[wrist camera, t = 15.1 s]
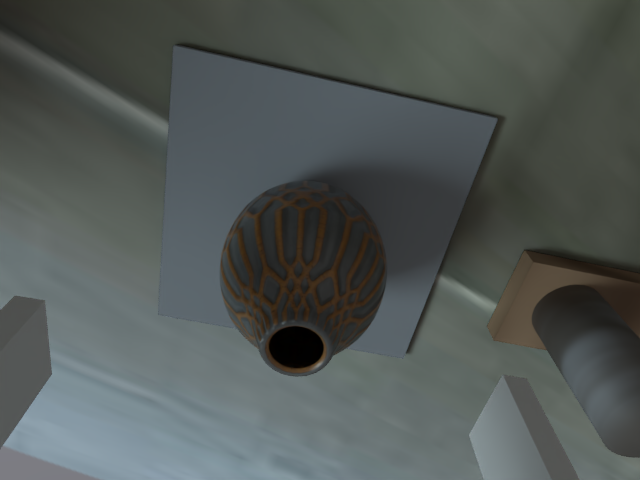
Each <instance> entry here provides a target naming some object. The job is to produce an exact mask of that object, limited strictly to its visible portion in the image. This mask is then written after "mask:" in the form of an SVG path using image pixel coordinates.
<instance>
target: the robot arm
mask: <svg viewBox="0 0 640 480" xmlns="http://www.w3.org/2000/svg"><path fill="white" fill-rule="evenodd" d="M51 374H52V370H51V360H50V349H49V339H48V329H47V318H46V308H45V300H39V299H33V298H26V297H20V296H14V297H13V298H12V299H11V300H10V301H9V302H8V303H7V304H6V305H5V306H4V307H3V308H2V309H1V310H0V448H1V447H2V446H3V444H4V443H5V441H6V440H7V438H8V437H9V436H10V434H11V433H12V431H13V430H14V428H15V427H16V425H17V424H18V422H19V421H20V420H21V418H22V417H23V415H24V414H25V412H26V411H27V409H28V408H29V406H30V405H31V404H32V402H33V401H34V399H35V398H36V396H37V395H38V393H39V392H40V390H41V389H42V388H43V386H44V385H45V383H46V382H47V380H48V379H49V377H50V376H51ZM469 436H470V439H471V443H472V446H473V449H474V452H475V455H476V458H477V461H478V464H479V467H480V470H481V473H482V476H483V479H484V480H579V478H578V476H577V474H576V472H575V470H574V468H573V466H572V464H571V462H570V460H569V459H568V457H567V455H566V453H565V451H564V449H563V447H562V445H561V443H560V441H559V439H558V438H557V436H556V434H555V432H554V430H553V428H552V426H551V424H550V422H549V420H548V418H547V417H546V415H545V413H544V411H543V409H542V407H541V405H540V403H539V401H538V399H537V398H536V396H535V394H534V392H533V390H532V388H531V386H530V384H529V382H528V380H527V379H526V378H520V377H514V376H507V375H502V377H501V379H500V380H499V382H498V384H497V386H496V388H495V389H494V391H493V393H492V395H491V397H490V398H489V400H488V402H487V404H486V406H485V407H484V409H483V411H482V413H481V415H480V416H479V418H478V420H477V422H476V424H475V425H474V427H473V429H472V431H471V433H470V434H469Z"/></svg>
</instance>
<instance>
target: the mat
mask: <svg viewBox="0 0 640 480" xmlns="http://www.w3.org/2000/svg"><path fill="white" fill-rule="evenodd" d="M497 120H498V118H496V117H494V116H490V115H486V114H481V113H477V112H472V111H468V110H464V109H459V108H455V107H450V106H446V105H441V104H437V103H433V102H428V101H424V100H419V99H415V98H411V97H406V96H402V95H397V94H393V93H389V92H384V91H380V90H375V89H371V88H366V87H362V86H358V85H353V84H349V83H344V82H340V81H336V80H331V79H327V78H322V77H318V76H313V75H309V74H305V73H300V72H296V71H291V70H287V69H283V68H278V67H274V66H269V65H265V64H261V63H256V62H252V61H247V60H243V59H238V58H234V57H230V56H225V55H221V54H216V53H212V52H208V51H203V50H199V49H194V48H190V47H185V46H181V45H177V44H176V45H173V59H172V77H171V94H170V112H169V130H168V147H167V165H166V182H165V200H164V218H163V235H162V253H161V271H160V288H159V306H158V315H162V316H168V317H173V318H179V319H185V320H190V321H196V322H201V323H207V324H213V325H218V326H224V327H229V328H235V329H237V328H236V326H235V325H234V323H233V322H232V320H231V318H230V317H229V314H228V312H227V310H226V307H225V304H224V301H223V297H222V293H221V286H220V272H219V271H220V259H221V253H222V249H223V245H224V242H225V239H226V237H227V235H228V232H229V230H230V228H231V226H232V225H233V223H234V221H235V220H236V218H237V217H238V215H239V214H240V213H241V211H242V210H243V209H244V208H245V207H246V206H247V205H248V204H249V203H250V202H251V201H252V200H253V199H255V198H256V197H257V196H259V195H260V194H261V193H263V192H265V191H267V190H268V189H271V188H273V187H275V186H278V185H281V184H284V183H288V182H293V181H316V182H322V183H326V184H329V185H332V186H334V187H336V188H339V189H341V190H342V191H344V192H346V193H347V194H349V195H350V196H352V197H353V198H354V199H356V200H357V201H358V202H359V203H360V204H361V205H362V206H363V207H364V208H365V210H366V211H367V212H368V213H369V215H370V216H371V217H372V219H373V221H374V222H375V224H376V226H377V228H378V231H379V233H380V235H381V238H382V242H383V245H384V249H385V254H386V261H387V280H386V287H385V291H384V295H383V299H382V302H381V305H380V307H379V310H378V312H377V314H376V316H375V318H374V320H373V321H372V323H371V324H370V326H369V327H368V329H367V330H366V331H365V332H364V334H363V335H362V336H361V337H360V338H359V339H358V340H356V341H355V342H354V343H353V344H352V345H350V346H349V347H347V348H346V349H352V350H358V351H363V352H369V353H374V354H380V355H386V356H391V357H397V358H402V359H403V358H404V356H405V353H406V351H407V348H408V346H409V343H410V341H411V338H412V336H413V333H414V331H415V328H416V325H417V323H418V320H419V318H420V315H421V313H422V310H423V308H424V305H425V303H426V300H427V298H428V295H429V293H430V290H431V287H432V285H433V282H434V280H435V277H436V275H437V272H438V270H439V267H440V265H441V262H442V260H443V257H444V254H445V252H446V249H447V247H448V244H449V242H450V239H451V237H452V234H453V232H454V229H455V227H456V224H457V221H458V219H459V216H460V214H461V211H462V209H463V206H464V204H465V201H466V199H467V196H468V194H469V191H470V189H471V186H472V183H473V181H474V178H475V176H476V173H477V171H478V168H479V166H480V163H481V161H482V158H483V156H484V153H485V150H486V148H487V145H488V143H489V140H490V138H491V135H492V133H493V130H494V128H495V125H496V123H497Z"/></svg>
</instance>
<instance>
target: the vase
mask: <svg viewBox="0 0 640 480" xmlns="http://www.w3.org/2000/svg"><path fill="white" fill-rule="evenodd" d="M219 272H220V286H221V293H222V297H223V301H224V304H225V307H226V310H227V312H228V314H229V317H230V318H231V320H232V322H233V323H234V325H235V326H236V328H237V329H238V330H239V332H240V333H241V334H242V335H243V336H244V337H245V338H246V339H247V340H248V341H249V342H250V343H251V344H253V345H254V346H255V347H256V348H258V349H259V352H260V354H261V356H262V358H263V360H264V361H265V362H266V364H267V365H268V366H269V367H271V368H272V369H273V370H275V371H277V372H279V373H281V374H284V375H288V376H307V375H311V374H314V373H316V372H318V371H320V370H321V369H323V368H324V367H325V366H326V365H327V364H328V363H329V361H330V360H331V358H332V357H333V356H334V355H335V354H337V353H339V352H341V351H343V350H344V349H346V348H347V347H349V346H350V345H352V344H353V343H354V342H355V341H356V340H358V339H359V338H360V337H361V336H362V335H363V334H364V332H365V331H366V330H367V329H368V327H369V326H370V324H371V323H372V321H373V320H374V318H375V316H376V314H377V312H378V310H379V307H380V305H381V302H382V299H383V295H384V291H385V287H386V280H387V261H386V254H385V249H384V245H383V242H382V238H381V235H380V233H379V231H378V228H377V226H376V224H375V222H374V221H373V219H372V217H371V216H370V215H369V213H368V212H367V211H366V210H365V208H364V207H363V206H362V205H361V204H360V203H359V202H358V201H357V200H356V199H354V198H353V197H352V196H350V195H349V194H347V193H346V192H344V191H342V190H341V189H339V188H336V187H334V186H332V185H329V184H326V183H322V182H316V181H293V182H288V183H284V184H281V185H278V186H275V187H273V188H271V189H268V190H267V191H265V192H263V193H261V194H260V195H259V196H257V197H256V198H255V199H253V200H252V201H251V202H250V203H249V204H248V205H247V206H246V207H245V208H244V209H243V210H242V211H241V213H240V214H239V215H238V217H237V218H236V220H235V221H234V223H233V225H232V226H231V228H230V230H229V232H228V235H227V237H226V239H225V242H224V245H223V249H222V253H221V259H220V271H219Z"/></svg>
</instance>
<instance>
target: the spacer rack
mask: <svg viewBox="0 0 640 480" xmlns="http://www.w3.org/2000/svg"><path fill="white" fill-rule="evenodd" d="M487 327H488V329H489V331H490V333H491V335H492V338H493V340H494V341H499V342H505V343H510V344H516V345H521V346H526V347H532V348H537V349H543V350H547V351H548V352H549V354H550V356H551V357H552V359H553V361H554V362H555V364H556V366H557V367H558V369H559V370H560V372H561V374H562V375H563V377H564V379H565V380H566V382H567V384H568V385H569V387H570V389H571V390H572V392H573V393H574V395H575V397H576V398H577V400H578V402H579V403H580V405H581V407H582V408H583V410H584V412H585V413H586V415H587V416H588V418H589V420H590V421H591V423H592V425H593V426H594V428H595V430H596V431H597V433H598V435H599V436H600V438H601V439H602V441H603V443H604V444H605V446H606V447H607V448H608V449H609V450H611V451H612V452H614V453H616V454H619V455H621V456H626V457H638V458H639V457H640V273H635V272H630V271H625V270H620V269H615V268H610V267H605V266H600V265H596V264H591V263H586V262H581V261H576V260H571V259H566V258H561V257H556V256H551V255H546V254H541V253H537V252H532V251H527V250H524V252H523V254H522V256H521V258H520V260H519V262H518V264H517V266H516V268H515V270H514V272H513V274H512V276H511V278H510V280H509V282H508V284H507V286H506V288H505V291H504V293H503V295H502V297H501V299H500V301H499V303H498V305H497V307H496V309H495V311H494V313H493V315H492V317H491V319H490V321H489V323H488V325H487Z"/></svg>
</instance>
